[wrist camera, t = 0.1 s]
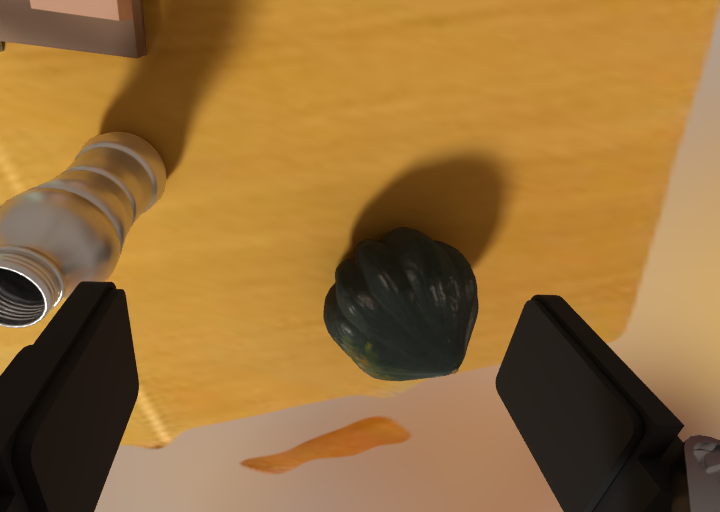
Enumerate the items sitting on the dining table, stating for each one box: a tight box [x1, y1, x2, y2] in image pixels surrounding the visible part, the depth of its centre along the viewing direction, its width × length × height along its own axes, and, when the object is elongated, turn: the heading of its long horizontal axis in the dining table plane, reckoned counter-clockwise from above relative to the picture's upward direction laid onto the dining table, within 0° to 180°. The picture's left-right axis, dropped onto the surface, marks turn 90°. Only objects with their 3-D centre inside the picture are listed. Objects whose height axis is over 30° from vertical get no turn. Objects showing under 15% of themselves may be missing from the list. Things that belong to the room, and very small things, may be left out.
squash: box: [324, 227, 478, 381], centre depth 42 cm, size 14×15×15 cm
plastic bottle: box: [0, 132, 166, 328], centre depth 29 cm, size 6×7×20 cm
